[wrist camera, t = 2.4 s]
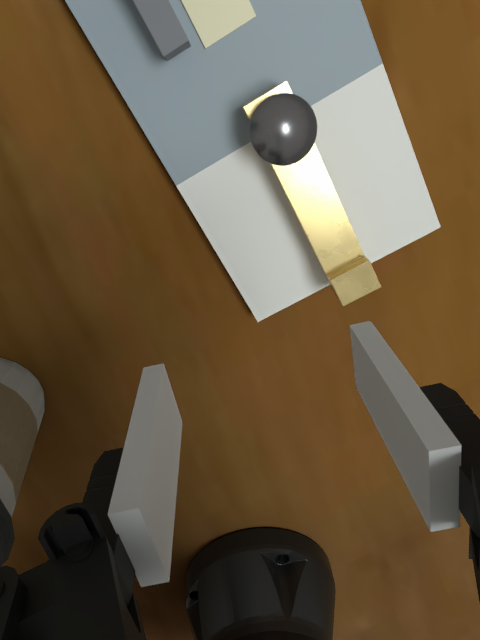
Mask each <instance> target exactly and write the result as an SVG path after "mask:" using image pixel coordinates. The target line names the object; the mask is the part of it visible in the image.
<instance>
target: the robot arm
mask: <svg viewBox="0 0 480 640" xmlns="http://www.w3.org/2000/svg"><path fill="white" fill-rule="evenodd" d="M350 334H351V343H352V353H353V362H354V372H355V381H356V388H357V390H358V392H359V394H360V396H361V398H362V400H363V402H364V404H365V406H366V408H367V409H368V411H369V413H370V415H371V417H372V419H373V421H374V423H375V425H376V427H377V429H378V431H379V433H380V435H381V437H382V439H383V441H384V443H385V444H386V446H387V448H388V450H389V452H390V454H391V456H392V458H393V460H394V462H395V464H396V466H397V468H398V470H399V472H400V474H401V476H402V478H403V479H404V481H405V483H406V485H407V487H408V489H409V491H410V493H411V495H412V497H413V499H414V501H415V503H416V505H417V507H418V509H419V511H420V513H421V515H422V516H423V518H424V520H425V522H426V524H427V526H428V528H429V530H430V532H434V531H439V530H444V529H449V528H455V527H460V511H461V513H462V515H463V516H464V518H465V519H466V521H467V523H468V524H469V526H470V534H469V559H473V564H474V570H475V576H476V583H477V589H478V595H479V601H480V419H479V418H478V417H477V416H476V415H475V414H473V411H472V410H471V409H470V408H469V406H468V405H466V404H465V402H464V400H463V399H462V398H461V397H460V396H459V395H458V393H457V392H456V391H454V390H452V389H451V388H449V387H447V386H445V385H443V384H442V383H438V384H433V385H428V386H423V387H419V386H418V385H417V384H416V382H415V381H414V380H413V378H412V377H411V376H410V374H409V373H408V371H407V370H406V369H405V367H404V366H403V365H402V363H401V362H400V361H399V359H398V358H397V356H396V355H395V354H394V352H393V351H392V350H391V348H390V347H389V346H388V344H387V343H386V341H385V340H384V339H383V337H382V336H381V335H380V333H379V332H378V331H377V329H376V328H375V326H374V325H373V324H372V322H371V321H368V322H363V323H358V324H353V325H350ZM181 434H182V419H181V416H180V413H179V410H178V407H177V404H176V400H175V397H174V394H173V391H172V388H171V385H170V382H169V378H168V375H167V372H166V369H165V366H164V363H163V364H158V365H154V366H149V367H144V368H143V371H142V375H141V379H140V384H139V388H138V392H137V396H136V400H135V404H134V408H133V412H132V416H131V420H130V424H129V428H128V433H127V437H126V441H125V445H124V448H119V449H114V450H109V451H104V453H103V454H102V455H101V456H100V458H99V459H98V460H97V462H96V463H95V464H94V467H93V470H92V473H91V476H90V481H89V483H88V486H87V492H85V496H84V499H83V502H82V503H74V504H71V505H68V506H65V507H63V508H62V509H60V510H58V511H56V512H55V513H54V514H53V515H52V516H51V517H49V518H48V519H47V520H46V522H45V523H44V525H43V526H42V528H41V530H40V533H39V538H38V539H39V541H40V543H41V544H42V546H43V548H44V550H45V551H46V553H47V555H48V557H49V558H50V560H48V561H47V562H45V563H43V564H41V565H39V566H37V567H35V568H33V569H31V570H29V571H27V572H24V573H22V574H20V575H18V573H17V572H16V570H15V569H14V568H11V567H8V566H4V567H0V640H146V637H145V633H144V629H143V625H142V620H141V616H140V612H139V607H138V603H137V600H136V598H135V596H134V594H133V592H132V591H133V584H134V578H135V575H136V577H137V579H138V582H139V584H140V586H141V587H145V586H150V585H155V584H160V583H166V582H169V581H170V569H171V556H172V544H173V532H174V520H175V507H176V495H177V483H178V471H179V459H180V446H181ZM185 606H186V611H187V615H188V618H189V622H190V625H191V629H192V632H193V636H194V639H195V640H332V638H333V622H334V607H335V582H334V578H333V574H332V570H331V566H330V562H329V559H328V557H327V555H326V554H325V552H324V551H323V550H322V548H321V547H320V546H319V545H317V544H316V543H315V542H314V541H312V540H311V539H309V538H307V537H305V536H303V535H301V534H298V533H295V532H292V531H288V530H282V529H274V528H257V529H249V530H243V531H239V532H235V533H232V534H229V535H226V536H224V537H222V538H220V539H218V540H216V541H214V542H212V543H211V544H209V545H208V546H206V547H205V548H204V549H203V550H201V551H200V552H199V553H198V554H197V555H196V557H195V558H194V559H193V561H192V562H191V564H190V566H189V568H188V571H187V574H186V584H185Z"/></svg>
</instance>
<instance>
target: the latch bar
mask: <svg viewBox="0 0 480 640" xmlns="http://www.w3.org/2000/svg"><path fill="white" fill-rule="evenodd" d="M241 107H242V109H243V111H244V113H245V115H246V117H247V119H248V121H249V123H250V124H249V136H250V140H251V144H252V146H253V148H254V149H255V151H256V152H257V154H258V155H259V156H260V157H261V158H262V159H264V160H265V161H267V162H268V163H269V164H270V166H271V168H272V170H273V172H274V174H275V176H276V178H277V180H278V182H279V184H280V186H281V188H282V190H283V192H284V194H285V196H286V198H287V200H288V202H289V204H290V206H291V208H292V210H293V212H294V214H295V216H296V218H297V220H298V222H299V224H300V226H301V228H302V230H303V232H304V234H305V236H306V238H307V240H308V242H309V244H310V246H311V248H312V250H313V252H314V254H315V256H316V258H317V260H318V262H319V264H320V266H321V268H322V270H323V272H324V274H325V276H326V278H327V280H328V282H329V284H330V286H331V288H332V290H333V292H334V293H335V295H336V296H337V298H338V299H339V301H340V302H341V304H342V305H343V306H345V305H347V304H348V303H350V302H352V301H354V300H356V299H358V298H360V297H362V296H364V295H366V294H368V293H370V292H372V291H374V290H376V289H378V288H380V287H381V285H380V283H379V281H378V279H377V276H376V274H375V272H374V270H373V267H372V265H371V263H370V261H369V259H368V258H367V257H366V256H365V255H364V253H363V251H362V249H361V247H360V244H359V242H358V240H357V238H356V235H355V233H354V231H353V229H352V226H351V224H350V222H349V220H348V217H347V215H346V213H345V211H344V208H343V206H342V204H341V202H340V199H339V197H338V195H337V193H336V190H335V188H334V186H333V184H332V181H331V179H330V177H329V175H328V172H327V170H326V168H325V166H324V163H323V161H322V159H321V157H320V154H319V152H318V150H317V148H316V145H315V143H314V142H315V139H316V136H317V120H316V116H315V113H314V111H313V109H312V108H311V106H310V105H309V104H308V103H307V101H305V100H304V99H303V98H301V97H300V96H297V95H295V94H292V92H291V89H290V87H289V85H288V83H287V81H284V82H281V83H279V84H278V85H276V86H274V87H273V88H271V89H269V90H268V91H266V92H264V93H263V94H261V95H259V96H258V97H256V98H255V99H253V100H251V101H250V102H248V103H246V104H245V105H243V106H241Z"/></svg>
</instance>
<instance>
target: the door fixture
mask: <svg viewBox="0 0 480 640" xmlns="http://www.w3.org/2000/svg"><path fill="white" fill-rule="evenodd" d="M65 1H66V3H67V5H68V6H69V8H70V10H71V11H72V13H73V15H74V16H75V18H76V20H77V21H78V23H79V25H80V26H81V28H82V30H83V31H84V33H85V35H86V36H87V38H88V40H89V41H90V43H91V45H92V46H93V48H94V50H95V51H96V53H97V55H98V56H99V58H100V60H101V61H102V63H103V65H104V66H105V68H106V70H107V71H108V73H109V75H110V76H111V78H112V80H113V81H114V83H115V85H116V86H117V88H118V90H119V91H120V93H121V95H122V96H123V98H124V100H125V101H126V103H127V105H128V106H129V108H130V110H131V111H132V113H133V115H134V116H135V118H136V120H137V121H138V123H139V125H140V126H141V128H142V130H143V131H144V133H145V135H146V136H147V138H148V140H149V141H150V143H151V145H152V146H153V148H154V150H155V151H156V153H157V155H158V156H159V158H160V160H161V161H162V163H163V165H164V166H165V168H166V170H167V171H168V173H169V175H170V176H171V178H172V180H173V181H174V183H175V185H176V186H177V188H178V190H179V191H180V193H181V195H182V196H183V198H184V200H185V201H186V203H187V205H188V206H189V208H190V210H191V211H192V213H193V215H194V216H195V218H196V220H197V221H198V223H199V225H200V226H201V228H202V230H203V231H204V233H205V235H206V236H207V238H208V240H209V241H210V243H211V245H212V246H213V248H214V250H215V251H216V253H217V255H218V256H219V258H220V260H221V261H222V263H223V265H224V266H225V268H226V270H227V271H228V273H229V275H230V276H231V278H232V280H233V281H234V283H235V285H236V286H237V288H238V290H239V291H240V293H241V295H242V296H243V298H244V300H245V301H246V303H247V305H248V306H249V308H250V310H251V311H252V313H253V315H254V316H255V318H256V320H257V321H258V322H259V321H261V320H263V319H265V318H267V317H269V316H270V315H272V314H274V313H276V312H278V311H280V310H282V309H284V308H286V307H288V306H290V305H292V304H294V303H296V302H297V301H299V300H301V299H303V298H305V297H307V296H309V295H311V294H313V293H315V292H317V291H319V290H321V289H322V288H324V287H326V286H328V285H330V284H329V282H328V280H327V278H326V276H325V274H324V272H323V270H322V268H321V266H320V264H319V262H318V260H317V258H316V256H315V254H314V252H313V250H312V248H311V246H310V244H309V242H308V240H307V238H306V236H305V234H304V232H303V230H302V228H301V226H300V224H299V222H298V220H297V218H296V216H295V214H294V212H293V210H292V208H291V206H290V204H289V202H288V200H287V198H286V196H285V194H284V192H283V190H282V188H281V186H280V184H279V182H278V180H277V178H276V176H275V174H274V172H273V170H272V168H271V166H270V164H269V163H268V162H267V161H265V160H264V159H262V158H261V157H260V156H259V155H258V154H257V152H256V151H255V149H254V148H253V146H252V144H251V140H250V136H249V124H250V123H249V121H248V119H247V117H246V115H245V113H244V111H243V109H242V107H241V106H243V105H245V104H246V103H248V102H250V101H251V100H253V99H255V98H256V97H258V96H259V95H261V94H263V93H264V92H266V91H268V90H269V89H271V88H273V87H274V86H276V85H278V84H279V83H281V82H284V81H287V83H288V85H289V87H290V89H291V92H292V94H295V95H297V96H300V97H301V98H303V99H304V100H305V101H307V103H308V104H309V105H310V106H311V108H312V109H313V111H314V113H315V116H316V120H317V136H316V139H315V142H314V143H315V145H316V148H317V150H318V152H319V154H320V157H321V159H322V161H323V163H324V166H325V168H326V170H327V172H328V175H329V177H330V179H331V181H332V184H333V186H334V188H335V190H336V193H337V195H338V197H339V199H340V202H341V204H342V206H343V208H344V211H345V213H346V215H347V217H348V220H349V222H350V224H351V226H352V229H353V231H354V233H355V235H356V238H357V240H358V242H359V244H360V247H361V249H362V251H363V253H364V255H365V256H366V257H367V258H368V259H369V261H370V263H373V262H374V261H376V260H378V259H380V258H382V257H384V256H386V255H388V254H390V253H392V252H394V251H396V250H398V249H400V248H401V247H403V246H405V245H407V244H409V243H411V242H413V241H415V240H417V239H419V238H421V237H423V236H425V235H427V234H428V233H430V232H432V231H434V230H436V229H438V228H440V224H439V221H438V218H437V216H436V213H435V210H434V207H433V204H432V201H431V199H430V196H429V193H428V190H427V187H426V184H425V182H424V179H423V176H422V173H421V170H420V168H419V165H418V162H417V159H416V156H415V153H414V151H413V148H412V145H411V142H410V139H409V136H408V134H407V131H406V128H405V125H404V122H403V119H402V117H401V114H400V111H399V108H398V105H397V102H396V100H395V97H394V94H393V91H392V88H391V85H390V83H389V80H388V77H387V74H386V71H385V69H384V66H383V63H382V60H381V57H380V54H379V52H378V49H377V46H376V43H375V40H374V37H373V35H372V32H371V29H370V26H369V23H368V20H367V18H366V15H365V12H364V9H363V6H362V3H361V1H360V0H65Z"/></svg>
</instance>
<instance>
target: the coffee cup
mask: <svg viewBox="0 0 480 640" xmlns="http://www.w3.org/2000/svg"><path fill="white" fill-rule="evenodd" d="M44 404H45V399H44V391H43V389H42V387H41V385H40V383H39V381H38V379H37V378H36V377H35V376H34V375H33V374H32V373H31V372H30V371H29V370H28V369H26V368H24V367H23V366H21V365H19V364H18V363H16V362H13V361H10V360H7V359H3V358H0V567H1V566H2V564H3V563H4V562H5V561H6V560H7V559H8V557H9V554H10V551H11V548H12V545H13V542H14V539H15V538H14V532H13V525H12V519H11V518H12V515H13V512H14V508H15V505H16V502H17V499H18V495H19V492H20V489H21V486H22V482H23V479H24V476H25V473H26V469H27V466H28V463H29V460H30V457H31V453H32V450H33V447H34V444H35V440H36V437H37V434H38V431H39V427H40V424H41V421H42V418H43V415H44V411H45V408H44Z"/></svg>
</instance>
